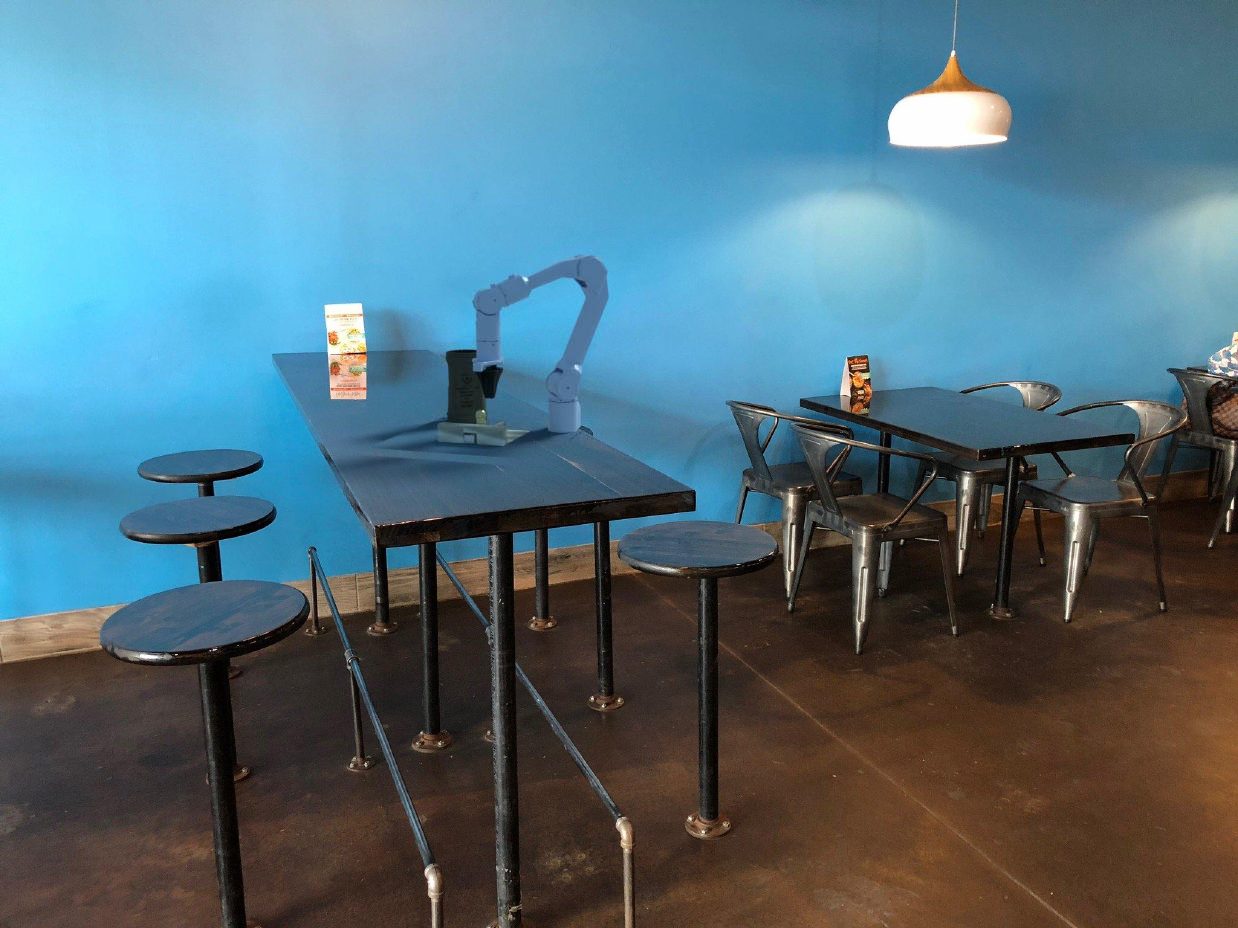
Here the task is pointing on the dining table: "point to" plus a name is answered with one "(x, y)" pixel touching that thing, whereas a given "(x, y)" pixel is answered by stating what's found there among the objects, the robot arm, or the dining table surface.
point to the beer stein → (463, 388)
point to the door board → (478, 433)
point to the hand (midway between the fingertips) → (489, 398)
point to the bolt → (480, 421)
